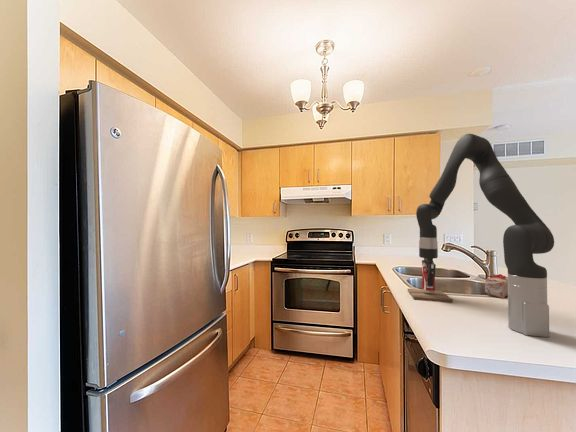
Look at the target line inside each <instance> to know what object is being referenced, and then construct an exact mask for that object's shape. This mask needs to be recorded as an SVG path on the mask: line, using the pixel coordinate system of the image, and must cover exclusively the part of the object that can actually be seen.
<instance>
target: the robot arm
mask: <svg viewBox="0 0 576 432" xmlns="http://www.w3.org/2000/svg"><path fill="white" fill-rule="evenodd" d="M466 159H467V160H469V161H471V162H473V164H474V166H476V168H477V169H478V172H479V180H478V182H479V187H480V189H481V192H482V193H483V195H484V197H485V198H486V200H487V201H488V202H489V203H490V204H491V205H492V206H493V207H494V208H496V209H498V210H499V211H500V212H502V213H503V214H504V215H505V216H507V217H508V218H509V219H510V220H511V221H512V223H513V225H510V226H508V227H506V229H505V231H504V233H503V237H502V239H503V241H502V243H503V245H502V246H503V257H504V264H505V267H506V268H507V277H508V295H507V317H508V318H507V321H508V327H509V329H511V330H513V331H515V332H517V333H520V334H523V335H525V336H533V337H544V338H550V306H549V304H548V272H547V269H546V267H545V266H541V265H539V264H537V263H536V262H535V260H534V255H535V254H536V255H539V254H540V255H542V254H547V253H549V252H551V251H552V250H553V248H554V246H555V238H554V234H553V233H552V231H551V229H550V228H549V227H548V226H547V225H546V224H545V222H544V221H543V220H542V219H541V218H540V217H539V216H538V214H537V213H536V212H535V211H534V210H533V208H532V207H531V206H530V204H529V203H528V202H527V200H526V198H525V197H524V196H523V194H522V193H521V191H520V190H519V188H518V187H517V185H516V184H515V182H514V180H513V179H512V177H511V176H510V175H509V174H508V172H507V170H506V169H505V167H504V166H503V165H502V163H501V162H500V161H499V159H498V157H497V154H496V153H495V151H494V148H493V147H492V145H491V143H490V141H489V140H488V139H486V138H485V137H482V136H480V135H476V134H475V133H474V134H473V133H465V134H464V135H462V136H460V137H459V139H458V140H457V142H456V143H455V145H454V147H453V149H452V151H451V153H450V156H449V157H448V159H447V162H446V164H445V167H444V169H443V172H442V174H441V175H440V177H439V179H438V180H437V182H436V184H435V185H434V187H433V188H432V190H431V192H430V193H429V198H430V201H429V203H421V204H419V205H418V206H417V208H416V212H415V214H416V215H415V216H416V220H417V225H418V227H419V241H418V251H419V252H418V253H419V254H418V256H419V258H421V259H422V260H421V267H422V266H423V264H424V266H425V270H426V272H427V285H428V286H433V278H434V277H435V278H436V268H437V265H436V264H435V262H434V259H438V254H439V253H438V252H439V251H438V249H439V248H438V247H439V246H438V243H439V242H438V231H437V230H438V229H437V226H436V225H435V224H433V220H435V219H437V218H438V217H439V216H440V215H441V213H442V210H443V208H444V206H445V203H446V201H447V199H448V198H449V196H451V194H452V193H453V190H454V189H455V187H456V184H457V179H458V172H459V169H460V168H461V165H462V163H463V162H464V160H466ZM427 268H429V270H427ZM430 272H432V274H430Z"/></svg>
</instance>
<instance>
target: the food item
mask: <svg viewBox="0 0 576 432" xmlns="http://www.w3.org/2000/svg"><path fill="white" fill-rule="evenodd" d="M491 275H492V277H491V278H486V280H485V282H484V292H485V294H487V295H488V296H490V297H493V298H498V299H504V298H506V297H508V276H506V275H503V274H501V273H500V274H494V273H491Z"/></svg>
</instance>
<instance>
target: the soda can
mask: <svg viewBox="0 0 576 432" xmlns="http://www.w3.org/2000/svg"><path fill="white" fill-rule="evenodd" d="M427 270H429V268H427ZM430 274H432V272H430ZM421 281H422V282H421V289H423V291H426V292H434V291H435V290H436V276H435V277H434V278H433V286H428V285H427V272H426V270H425V266H424V264H423V266H422V265H421Z"/></svg>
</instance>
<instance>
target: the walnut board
mask: <svg viewBox="0 0 576 432" xmlns="http://www.w3.org/2000/svg"><path fill="white" fill-rule="evenodd" d="M407 292H408V293H409V294H410V296H411V298H412V300H416V301H428V302H440V301H442V303H453V301H454V300H453V298H451V296H449V295H448V294H446V293H445V292H444V291H442V290H436V289H435V291H434V292H426V291H423V289H422V288H421V289H418V288H407Z"/></svg>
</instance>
